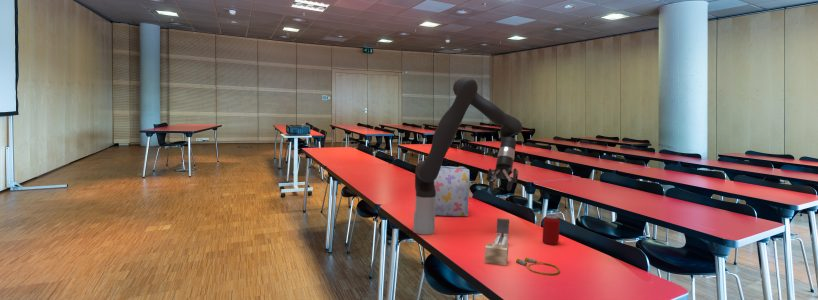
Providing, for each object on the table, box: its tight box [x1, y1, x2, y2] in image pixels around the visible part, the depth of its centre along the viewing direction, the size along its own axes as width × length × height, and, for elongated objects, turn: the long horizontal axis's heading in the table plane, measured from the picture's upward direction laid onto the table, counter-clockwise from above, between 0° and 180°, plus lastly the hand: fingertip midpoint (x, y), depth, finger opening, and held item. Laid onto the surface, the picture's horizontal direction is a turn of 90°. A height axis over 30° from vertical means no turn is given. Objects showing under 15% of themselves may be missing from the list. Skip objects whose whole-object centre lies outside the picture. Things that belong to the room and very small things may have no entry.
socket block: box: [484, 242, 509, 266], centre depth 165 cm, size 8×6×6 cm
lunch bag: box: [434, 165, 470, 217], centre depth 238 cm, size 22×17×26 cm
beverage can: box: [542, 214, 561, 246], centre depth 190 cm, size 7×7×12 cm
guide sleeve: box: [493, 233, 509, 246], centre depth 181 cm, size 5×16×4 cm, turn 163°
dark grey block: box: [496, 217, 510, 244], centre depth 181 cm, size 5×18×10 cm, turn 163°
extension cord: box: [516, 256, 561, 276], centre depth 161 cm, size 12×16×2 cm
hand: (499, 190), depth 196 cm, fingers open, 8 cm apart
